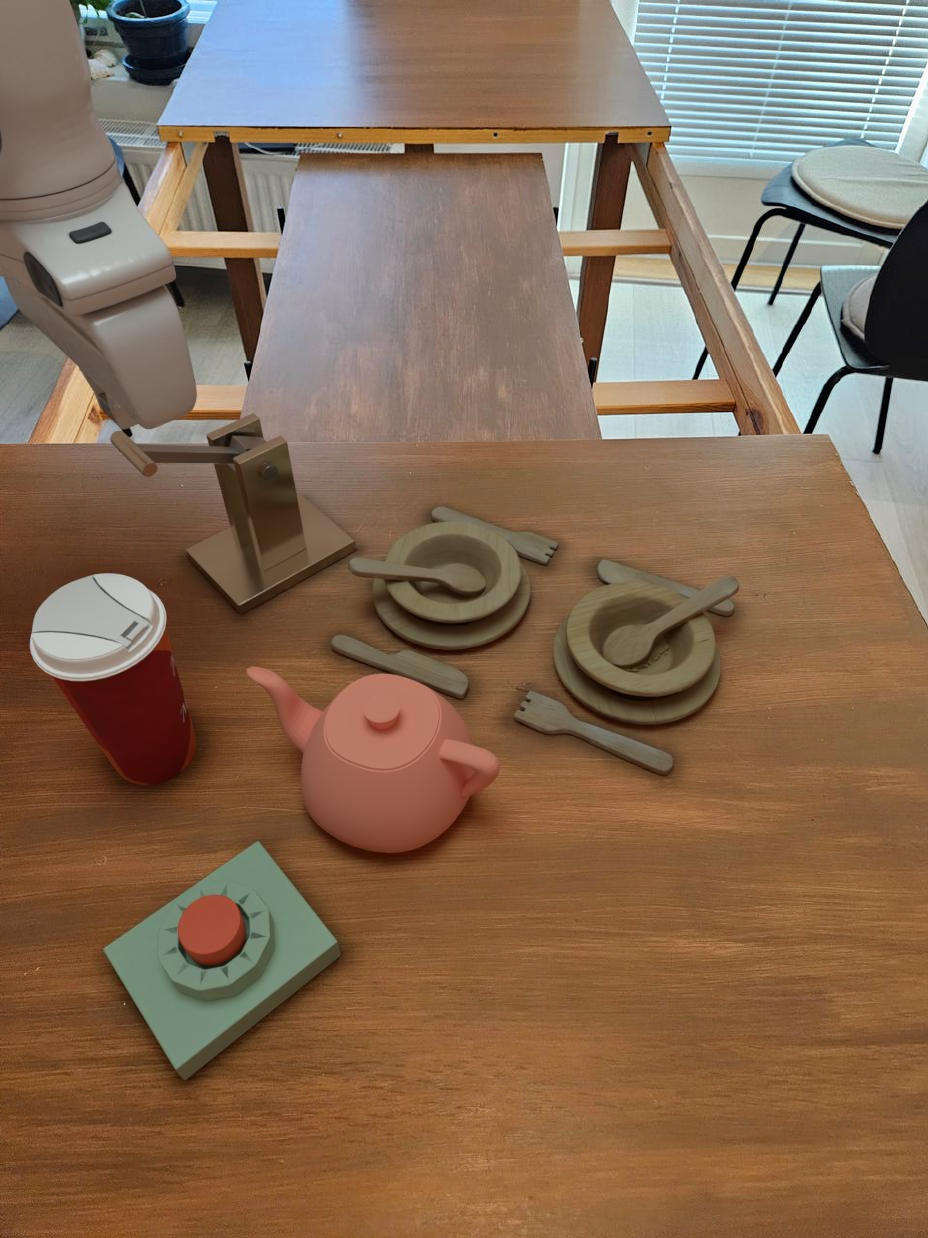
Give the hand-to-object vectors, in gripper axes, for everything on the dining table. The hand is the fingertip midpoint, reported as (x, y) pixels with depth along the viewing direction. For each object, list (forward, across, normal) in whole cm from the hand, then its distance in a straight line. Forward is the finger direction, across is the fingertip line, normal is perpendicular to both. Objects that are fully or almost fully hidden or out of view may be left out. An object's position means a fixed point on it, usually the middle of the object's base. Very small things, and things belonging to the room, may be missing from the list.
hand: (123, 417), depth 62 cm
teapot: (+19, +25, +2) cm, 31 cm away
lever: (+7, 0, +4) cm, 8 cm away
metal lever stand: (+19, 0, +9) cm, 21 cm away
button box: (+19, +29, -13) cm, 37 cm away
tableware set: (+19, +22, +21) cm, 36 cm away
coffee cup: (+19, +12, -9) cm, 24 cm away
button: (+15, +29, -13) cm, 35 cm away
